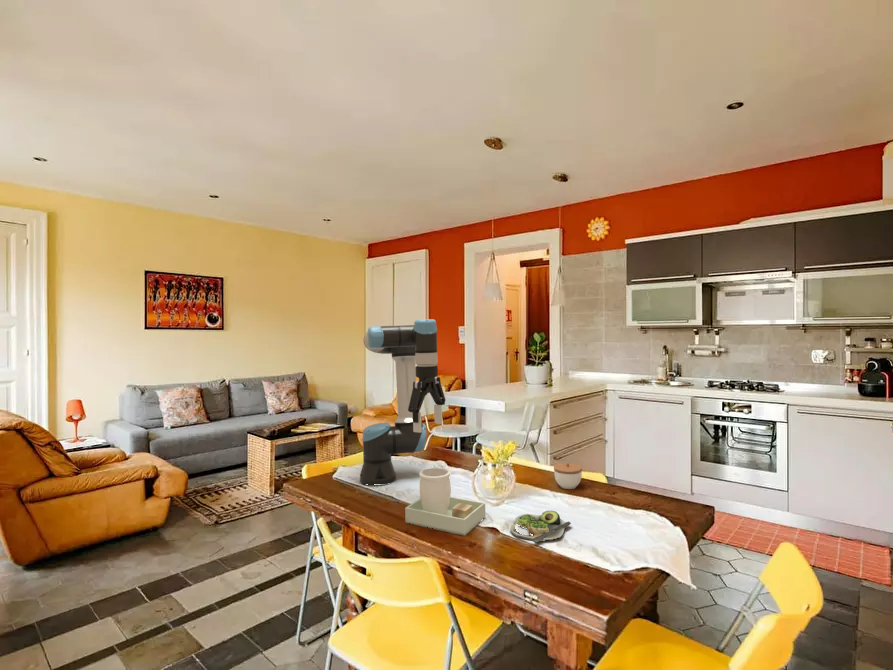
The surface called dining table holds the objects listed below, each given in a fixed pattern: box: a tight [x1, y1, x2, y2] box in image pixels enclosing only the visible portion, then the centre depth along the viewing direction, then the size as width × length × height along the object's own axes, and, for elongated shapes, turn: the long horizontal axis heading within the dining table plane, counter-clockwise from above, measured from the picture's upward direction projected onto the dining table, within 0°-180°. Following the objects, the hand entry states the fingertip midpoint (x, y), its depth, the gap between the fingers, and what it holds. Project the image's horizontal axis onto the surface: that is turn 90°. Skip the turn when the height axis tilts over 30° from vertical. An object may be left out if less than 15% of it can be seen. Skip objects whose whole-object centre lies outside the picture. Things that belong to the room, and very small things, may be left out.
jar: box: [418, 467, 452, 516], centre depth 166 cm, size 11×10×15 cm
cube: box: [452, 503, 473, 519], centre depth 161 cm, size 5×5×5 cm
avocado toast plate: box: [509, 510, 572, 543], centre depth 154 cm, size 19×18×5 cm
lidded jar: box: [553, 462, 583, 490], centre depth 193 cm, size 11×11×9 cm
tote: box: [404, 496, 486, 537], centre depth 164 cm, size 15×22×5 cm
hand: (428, 427), depth 166 cm, fingers open, 13 cm apart
